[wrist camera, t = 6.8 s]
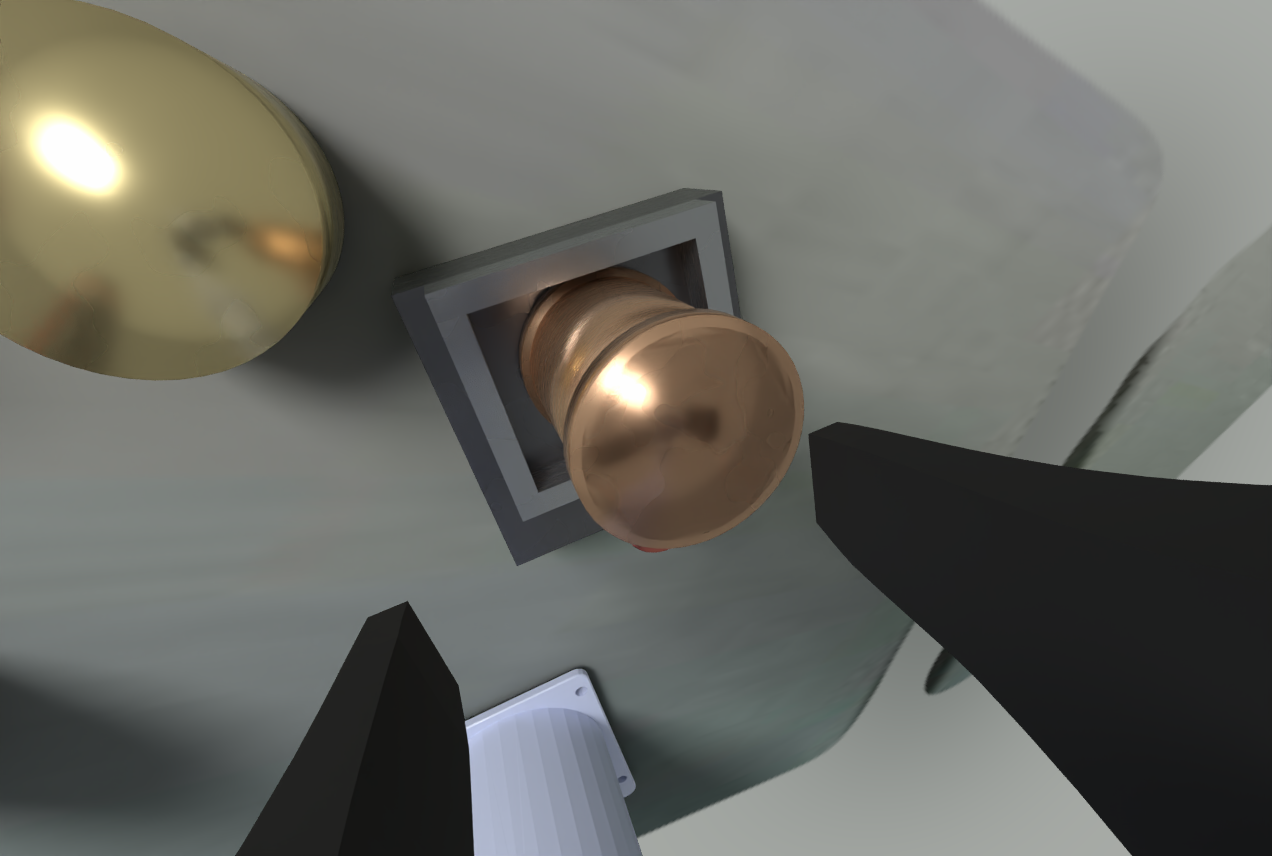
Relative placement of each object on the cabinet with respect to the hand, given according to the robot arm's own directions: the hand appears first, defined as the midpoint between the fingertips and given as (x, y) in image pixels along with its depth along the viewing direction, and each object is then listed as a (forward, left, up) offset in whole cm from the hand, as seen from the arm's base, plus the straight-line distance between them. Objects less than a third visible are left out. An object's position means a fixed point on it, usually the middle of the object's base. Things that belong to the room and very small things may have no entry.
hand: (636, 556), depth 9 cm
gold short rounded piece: (+7, +6, -10) cm, 14 cm away
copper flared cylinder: (+1, -2, -8) cm, 8 cm away
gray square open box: (0, -2, -10) cm, 10 cm away
